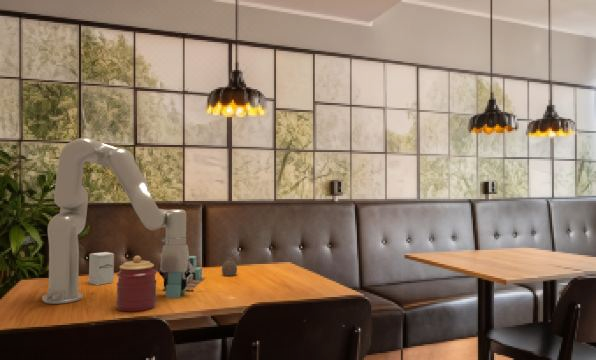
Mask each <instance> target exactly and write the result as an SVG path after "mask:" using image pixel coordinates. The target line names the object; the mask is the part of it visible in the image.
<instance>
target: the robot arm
mask: <svg viewBox="0 0 596 360" xmlns="http://www.w3.org/2000/svg"><path fill="white" fill-rule="evenodd" d="M86 162H88V163H93V164H97V165H100V166H103V167H106V168H109V169H111V171H112V172H113V174H114V176H115V177H116V179H117V180H118V183H119V184H120V185H121V187H122V189H123V190H124V192H125V195H126V197H127V198H128V199H129V202H130V204H131V206H132V208H133V210H134V212H135V213H136V215H137V217H138V218H139V220H140V221H141V223H142V224H143V226H144V227H145V228H146V229H148V230H150V231H156V230H159V229H160V228H165V237H164V238H161V242H162V243H164V245H163V246H162V251H161V256H160V257H161V258H160V263H159V265H157V266H156V268H155V270H156V271H157V273H158V274H159V275H160V276H161V278H162V279H163V288H164V287H165V290H166V285H167V272H182V273H181V275H182V280H181V290H184V289H185V287H186V286H187V277H188V276H189V275H190V274H191V273H193V272H194V271H195V268H194V267H193V266H192V265H191V263H190V262H189V256H190V253H189V251H190V250H189V246H188V244H187V211H185V210H184V209H175V208H174V209H163V208H159V206H158V205H157V203H156V202H155V200H154V199H153V196H152V194H151V192H150V190H149V189H150V188H149V184H148V181H147V180H146V178H145V176H144V174H143V173H142V172H141V170H140V168H139V166H138V165H137V163H136V161H135V157H134V155H133V153H132V152H131V151H129V149H125V148H123V147H115V146H113V145H109V144H106V143H103V142H100V141H99V140H95V139H94V138H91V137H80V138H76V139H74V140H71V141H69V142H68V143H67V144H66V145H65V146H64V147H63V148H62V150H61V151H60V154H59V157H58V161H57V163H58V164H57V173H56V176H55V177H56V179H55V187H54V195H53V199H54V201H53V202H54V203H55V205H56V206H58V207H59V208H60V209H59V213H58V214H55V215H54V216H53V217H52V218H51V219H50V220H49V222H48V224H47V237H48V261H49V262H48V290H47V294H44V295H42V296H41V300H42V301H43V302H44V303H45V304H51V305H57V304H58V305H60V304H69V303H73V302H77V301H80V300H82V299H83V297H84V295H83V294H82V293H81V292H79V269H80V268H79V266H80V265H79V263H80V262H79V259H80V256H79V254H80V253H79V252H80V251H79V250H80V249H79V248H80V247H79V237H78V235H80V234H81V233H82V231H83V230H84V229H85V226H86V223H87V213H88V212H87V211H88V205H89V194H88V191H87V189H86V188H85V187H84V186H83V177H84V165H85V163H86ZM188 269H190V271H189V272H188V273H187V272H186V270H188ZM185 290H186V289H185Z"/></svg>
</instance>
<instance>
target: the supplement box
mask: <svg viewBox="0 0 596 360" xmlns="http://www.w3.org/2000/svg"><path fill="white" fill-rule="evenodd" d="M88 258H89V262H88V264H89V266H88V267H89V268H88V283H89V284H91V285H95V286H99V285H100V286H101V285H105V284H111V283H112V284H113V283H114V275H115V274H114V273H115V272H114V270H115V269H114V267H115V253H113V252H109V251H104V252H94V253H89V257H88Z"/></svg>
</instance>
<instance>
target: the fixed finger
mask: <svg viewBox="0 0 596 360" xmlns="http://www.w3.org/2000/svg"><path fill="white" fill-rule="evenodd" d="M197 258H198V257H197V255H189V262H190V263H191V265H192V266H193V267H194V268H195V271H194V272H193V273H196V280H200V279H201V278H202V277H203V267H199V266H197V265H198V262H197ZM189 271H190V269H188V270H186V272H187V273H188V272H189Z"/></svg>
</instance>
